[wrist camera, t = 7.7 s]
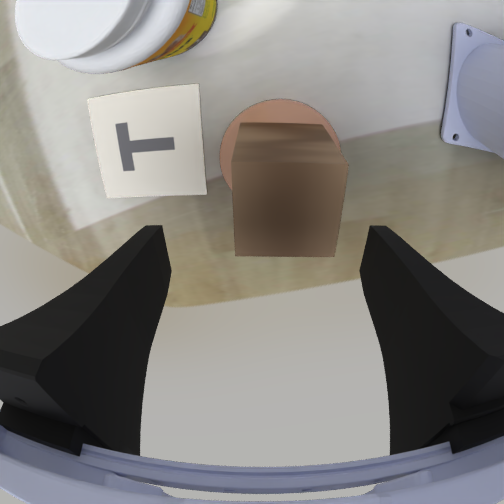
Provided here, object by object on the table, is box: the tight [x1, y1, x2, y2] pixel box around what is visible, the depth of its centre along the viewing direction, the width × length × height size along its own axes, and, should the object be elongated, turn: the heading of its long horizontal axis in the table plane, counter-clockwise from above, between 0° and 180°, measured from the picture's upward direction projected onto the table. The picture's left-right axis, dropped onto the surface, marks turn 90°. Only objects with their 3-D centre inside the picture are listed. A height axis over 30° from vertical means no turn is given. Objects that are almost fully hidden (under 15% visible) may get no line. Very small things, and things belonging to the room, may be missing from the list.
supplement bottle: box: [15, 0, 217, 74], centre depth 9 cm, size 6×6×10 cm
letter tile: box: [87, 84, 207, 198], centre depth 18 cm, size 7×7×1 cm
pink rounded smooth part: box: [220, 99, 341, 190], centre depth 18 cm, size 7×7×1 cm
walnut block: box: [231, 122, 349, 257], centre depth 16 cm, size 4×4×6 cm
